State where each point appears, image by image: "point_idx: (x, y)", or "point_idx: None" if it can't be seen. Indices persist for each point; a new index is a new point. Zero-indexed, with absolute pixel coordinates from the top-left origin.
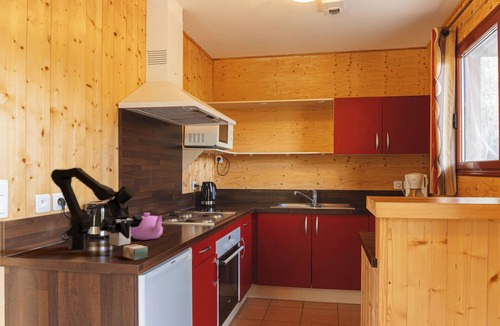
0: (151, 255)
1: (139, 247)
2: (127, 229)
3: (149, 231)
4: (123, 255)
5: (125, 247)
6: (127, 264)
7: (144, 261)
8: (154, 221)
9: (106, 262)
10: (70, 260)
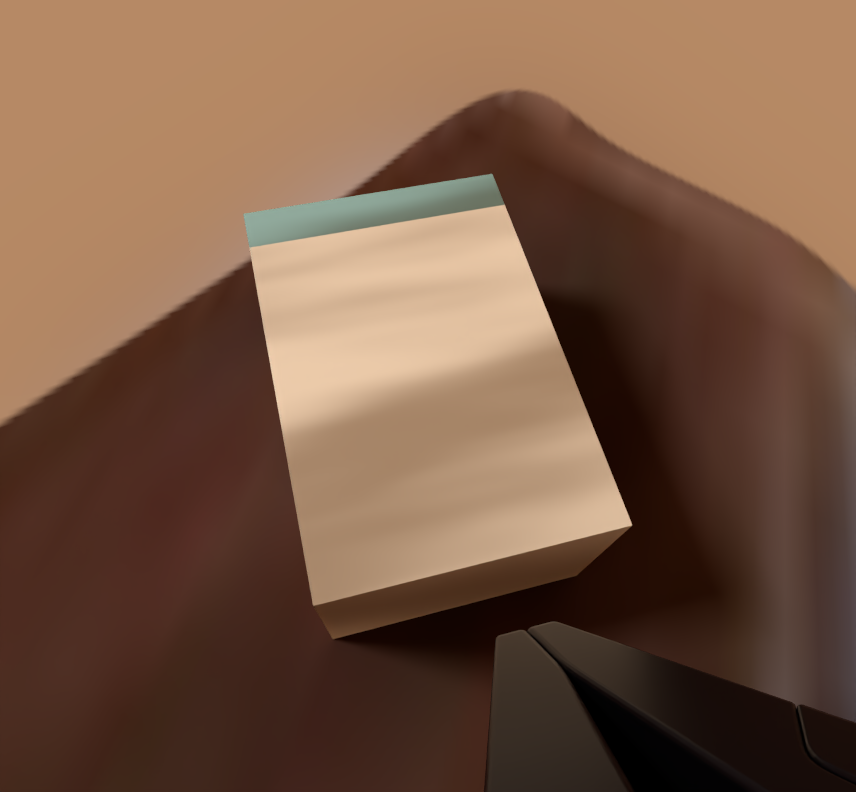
0: (167, 393)
1: (380, 256)
2: (623, 782)
3: None
4: (580, 568)
5: (598, 454)
6: (603, 148)
7: (395, 163)
8: None
9: (838, 345)
10: None
